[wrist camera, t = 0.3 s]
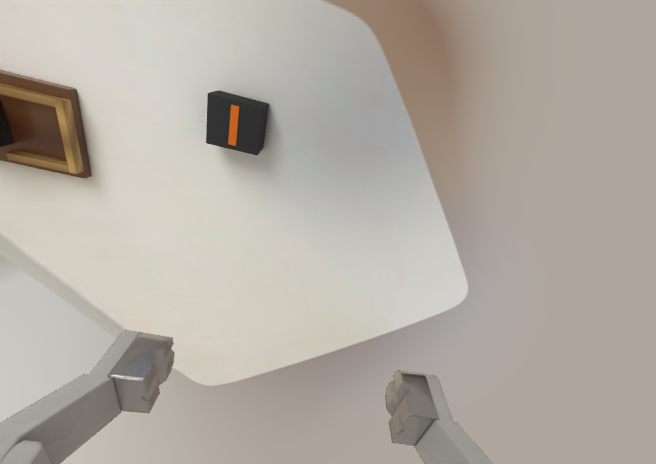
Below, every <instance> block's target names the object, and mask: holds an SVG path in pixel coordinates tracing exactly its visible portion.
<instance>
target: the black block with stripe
mask: <svg viewBox="0 0 656 464" xmlns="http://www.w3.org/2000/svg"><path fill="white" fill-rule="evenodd" d="M268 106H269V104H268V103H264V102H260V101H256V100H253V99H249V98H245V97H241V96H237V95H233V94H230V93H226V92H222V91H215V92H211V93H208V107H207V138H206V143H208V144H212V145H217V146H221V147H225V148H229V149H233V150H237V151H242V152H246V153H250V154H254V155H258V154H259V153H260V151H261V150H262V149H263V144H264V137H265V129H266V122H267V114H268Z"/></svg>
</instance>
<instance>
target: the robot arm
mask: <svg viewBox="0 0 656 464" xmlns="http://www.w3.org/2000/svg"><path fill="white" fill-rule="evenodd" d="M173 344H174V343H173V338H172V337H166V336H160V335H154V334H148V333H142V332H136V331H129V330H125V331H124V332H122V333H121V334H120V335H119V336H118V338H117V339H116V341H115V342H114V343H113V344H112V345H111V347H110V348H109V349H108V351H107V352H106V353H105V354H104V356H103V357H102V358H101V360H100V361H99V362H98V364H97V365H96V366H95V367H94V369H93V370H92V371H91V373H90V374H83V375H81V376H79V377H78V378H76V379H74V380H73V381H71V382H69V383H67V384H66V385H64V386H62V387H61V388H59V389H57V390H55V391H54V392H52V393H50V394H49V395H47V396H45V397H43V398H42V399H40V400H38V401H37V402H35V403H33V404H31V405H30V406H28V407H26V408H25V409H23V410H21V411H19V412H18V413H16V414H14V415H13V416H11V417H9V418H7V419H6V420H4V421H2V422H1V423H0V464H60V463H61V462H62V461H64V460H65V459H66V458H67V457H68V456H70V455H71V454H72V453H73V452H74V451H76V450H77V449H78V448H79V447H80V446H82V445H83V444H84V443H85V442H86V441H88V440H89V439H90V438H91V437H92V436H94V435H95V434H96V433H97V432H99V431H100V430H101V429H102V428H103V427H105V426H106V425H107V424H108V423H109V422H111V421H112V420H113V419H114V418H115V417H117V416H118V415H119V414H120V413H121V411H129V412H141V413H150V410H151V409H152V407H153V405H154V403H155V401H156V399H157V397H158V395H159V393H160V392H159V385H160V384H162V383H163V382H164V381H166V380H167V378H168V376H169V374H170V372H171V369H172V366H173V363H174V351H173V350H172V349H171V348H172V346H173ZM393 378H394V381H392V382H390V383H389V384H388V386H387V389H386V396H385V397H386V408H387V410H388V412H389V413H390V414H391V416H392V417H391V419H390V421H389V426H390V431H391V438H392V442H393V443H399V444H406V445H413V446H415V449H416V450H417V452H418V453H419V455H420V457H421V459H422V460H423V462H424V463H425V464H493V463H492V462H491V460H490V459H489V458H488V457H487V456H486V455H485V454H484V452H483V451H482V450H481V449H480V448H479V447H478V446H477V444H476V443H475V442H474V441H473V440H472V439H471V437H470V436H469V435H468V434H467V433H466V432H465V431H464V429H463V428H462V427H461V426H460V425H459V424H458V423H457V422H454V421H453V418H452V416H451V413H450V410H449V407H448V404H447V401H446V399H445V396H444V393H443V390H442V387H441V384H440V382H439V379H438V378H437V376H434V375H427V374H422V373H415V372H408V371H400V370H398V371H396V372H395V373H394V375H393Z"/></svg>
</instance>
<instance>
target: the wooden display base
mask: <svg viewBox="0 0 656 464" xmlns="http://www.w3.org/2000/svg"><path fill="white" fill-rule="evenodd" d="M0 160H2V161H6V162H11V163H16V164H20V165H25V166H30V167H34V168H39V169H44V170H48V171H53V172H57V173H62V174H67V175H71V176H76V177H81V178H88V177H90V176H91V173H90V167H89V161H88V155H87V150H86V144H85V138H84V133H83V127H82V121H81V115H80V110H79V104H78V98H77V93H76V89H74V88H70V87H66V86H61V85H57V84H53V83H49V82H45V81H41V80H37V79H33V78H29V77H25V76H21V75H17V74H13V73H9V72H5V71H1V70H0Z"/></svg>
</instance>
